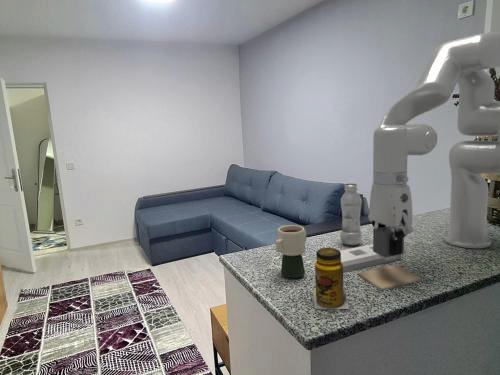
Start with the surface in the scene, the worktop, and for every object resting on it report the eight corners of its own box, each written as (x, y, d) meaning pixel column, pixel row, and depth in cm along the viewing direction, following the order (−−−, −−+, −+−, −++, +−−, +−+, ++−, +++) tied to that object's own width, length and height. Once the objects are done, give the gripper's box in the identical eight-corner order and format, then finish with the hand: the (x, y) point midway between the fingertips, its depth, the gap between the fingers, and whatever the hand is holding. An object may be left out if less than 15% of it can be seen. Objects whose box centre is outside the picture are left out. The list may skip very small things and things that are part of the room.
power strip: (384, 251, 100) (384, 239, 100) (401, 259, 94) (401, 247, 93) (326, 263, 94) (326, 251, 94) (341, 272, 88) (340, 260, 87)
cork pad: (394, 266, 90) (394, 264, 89) (421, 279, 81) (421, 278, 81) (357, 275, 86) (357, 273, 86) (381, 290, 77) (381, 288, 77)
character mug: (297, 265, 94) (295, 221, 92) (316, 272, 89) (315, 226, 87) (269, 277, 88) (266, 230, 86) (287, 286, 82) (285, 236, 80)
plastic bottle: (338, 241, 111) (337, 183, 107) (357, 240, 111) (357, 182, 108) (344, 248, 105) (343, 186, 101) (365, 247, 105) (365, 185, 101)
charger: (390, 252, 85) (391, 225, 84) (403, 258, 81) (404, 230, 80) (373, 256, 84) (373, 228, 82) (385, 262, 79) (385, 233, 78)
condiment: (314, 309, 71) (313, 257, 69) (312, 290, 80) (311, 243, 77) (349, 310, 70) (348, 257, 68) (343, 290, 79) (343, 242, 76)
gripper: (431, 181, 72) (427, 260, 75) (378, 173, 88) (377, 238, 91) (403, 185, 70) (401, 266, 73) (354, 176, 86) (354, 243, 89)
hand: (388, 250), depth 82 cm, fingers closed on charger, 4 cm apart
